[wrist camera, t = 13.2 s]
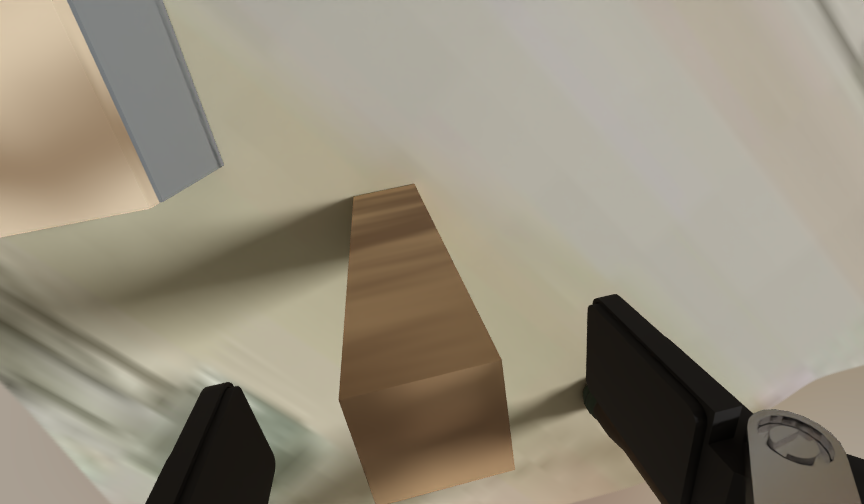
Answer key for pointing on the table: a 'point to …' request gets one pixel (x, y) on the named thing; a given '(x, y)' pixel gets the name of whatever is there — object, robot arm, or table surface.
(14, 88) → the lid
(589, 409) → the stick grenade
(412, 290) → the brown wooden bar
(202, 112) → the grey open box
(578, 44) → the table surface
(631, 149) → the table surface
